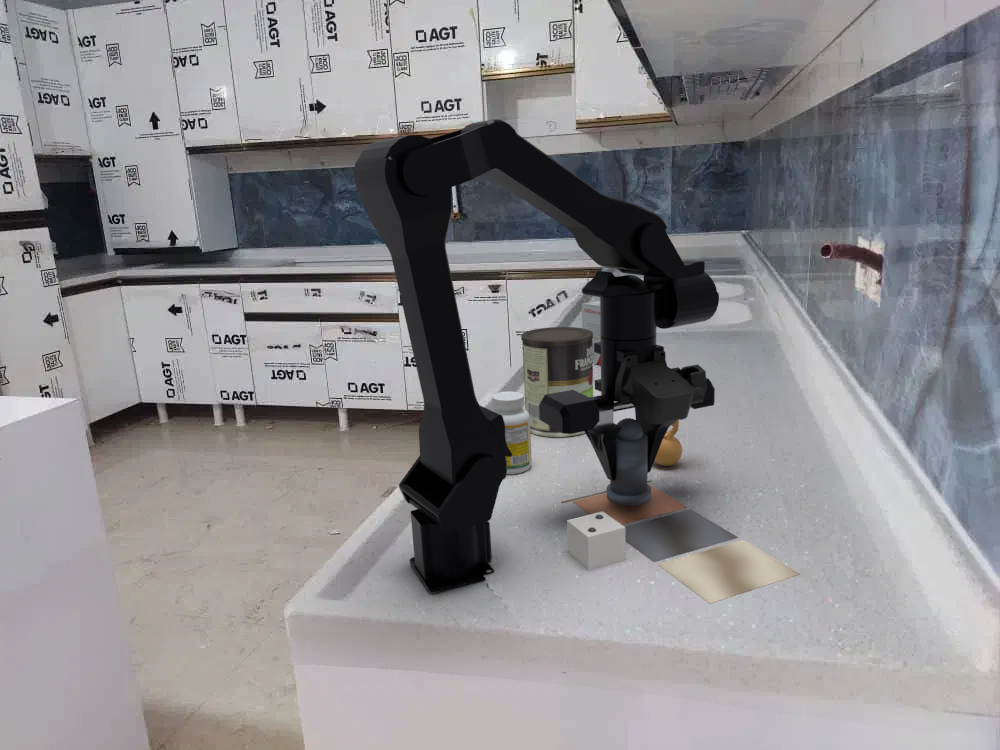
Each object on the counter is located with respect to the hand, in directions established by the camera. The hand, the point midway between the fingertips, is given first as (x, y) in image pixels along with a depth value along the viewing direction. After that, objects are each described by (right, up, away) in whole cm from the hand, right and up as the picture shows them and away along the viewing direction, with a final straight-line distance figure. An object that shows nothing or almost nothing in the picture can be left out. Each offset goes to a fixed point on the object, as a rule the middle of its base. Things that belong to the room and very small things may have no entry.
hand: (628, 475), depth 81 cm
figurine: (+8, -1, +13) cm, 15 cm away
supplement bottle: (-13, -1, +15) cm, 19 cm away
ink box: (+7, +13, +65) cm, 67 cm away
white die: (-5, -7, -10) cm, 13 cm away
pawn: (0, -2, +1) cm, 2 cm away
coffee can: (-5, +3, +29) cm, 30 cm away
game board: (+4, -6, -6) cm, 9 cm away
